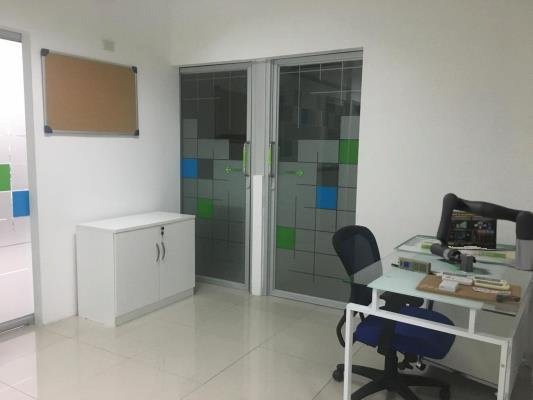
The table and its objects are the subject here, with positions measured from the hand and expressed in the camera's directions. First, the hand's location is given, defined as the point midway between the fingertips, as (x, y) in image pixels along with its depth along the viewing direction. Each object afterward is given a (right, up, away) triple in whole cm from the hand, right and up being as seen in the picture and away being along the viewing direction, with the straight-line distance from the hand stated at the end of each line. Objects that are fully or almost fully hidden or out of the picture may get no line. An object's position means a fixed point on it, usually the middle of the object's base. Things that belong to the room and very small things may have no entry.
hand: (468, 261), depth 250 cm
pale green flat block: (-1, -6, +8) cm, 11 cm away
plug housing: (0, -6, +2) cm, 6 cm away
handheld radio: (-29, -7, +10) cm, 31 cm away
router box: (+32, -1, +73) cm, 80 cm away
